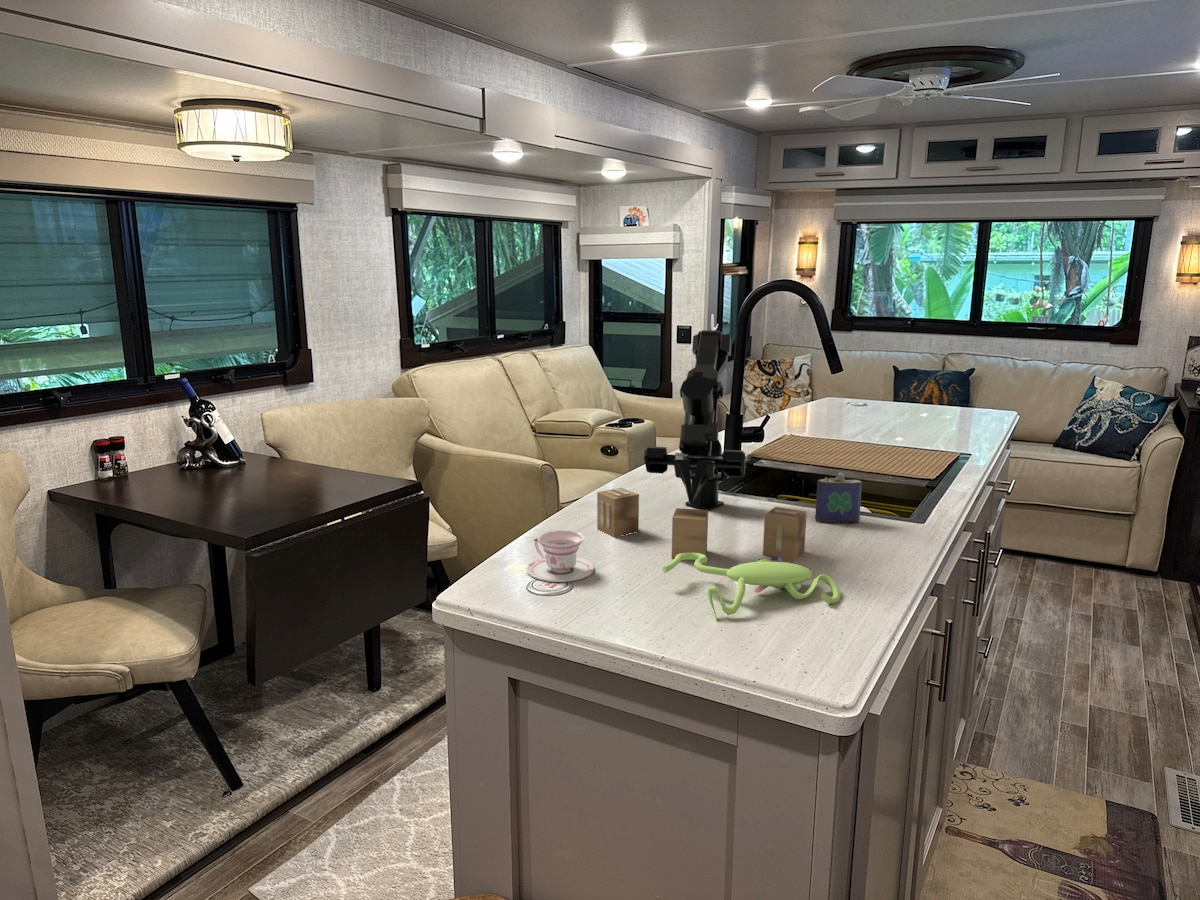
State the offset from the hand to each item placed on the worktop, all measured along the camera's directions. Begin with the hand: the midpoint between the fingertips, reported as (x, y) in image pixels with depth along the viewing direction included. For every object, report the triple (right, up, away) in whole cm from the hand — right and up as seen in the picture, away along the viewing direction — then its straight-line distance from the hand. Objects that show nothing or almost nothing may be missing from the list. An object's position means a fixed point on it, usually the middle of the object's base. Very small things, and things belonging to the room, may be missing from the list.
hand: (690, 500), depth 150 cm
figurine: (+8, -15, -15) cm, 22 cm away
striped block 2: (+18, -10, +3) cm, 21 cm away
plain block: (0, -10, +2) cm, 10 cm away
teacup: (-24, -12, -5) cm, 27 cm away
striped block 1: (-13, -7, +16) cm, 22 cm away
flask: (+33, -6, +22) cm, 40 cm away
